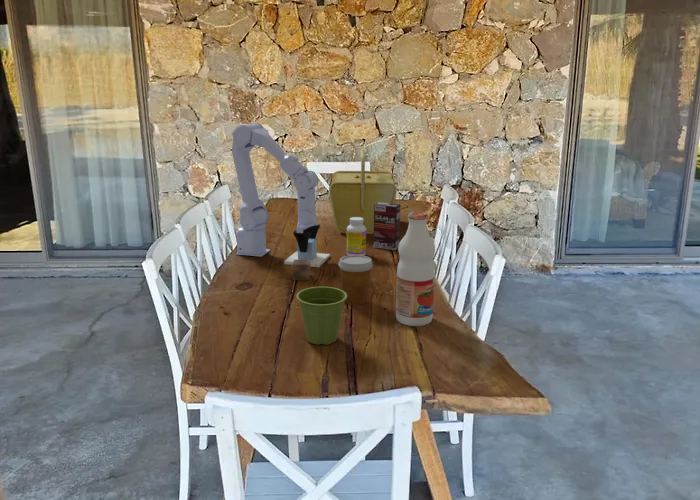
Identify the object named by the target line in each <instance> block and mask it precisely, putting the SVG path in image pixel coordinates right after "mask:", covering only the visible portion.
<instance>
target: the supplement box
mask: <svg viewBox="0 0 700 500" xmlns="http://www.w3.org/2000/svg"><path fill="white" fill-rule="evenodd" d="M401 206H402V205H401V204H400V203H394V204H391V203H381V202H378V203H376V204H375V205H374V234H372V235H373V236H372V237H373V239H372V240H373V241H372V242H373V244H372V247H373V248H377V249H385V250H392V251H396V250H398V248H399V243H400V227H401Z"/></svg>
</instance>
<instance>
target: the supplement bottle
mask: <svg viewBox="0 0 700 500" xmlns="http://www.w3.org/2000/svg"><path fill="white" fill-rule="evenodd" d="M363 222H364V219H363V218H361V217H352V218H350V225H349V226H348V227H347V234H346V256H348V255H362V256H366V254H367V234H366V227H365V226H364V225H363Z"/></svg>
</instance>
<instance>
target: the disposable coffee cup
mask: <svg viewBox="0 0 700 500" xmlns="http://www.w3.org/2000/svg"><path fill="white" fill-rule="evenodd" d="M337 264H338V267H339V271H340V278H341V286H342V288H341V290H343V291H344V292H346V294H347V298H346V300H345V301H344V304H348V305H354V306H355V305H364V304H365V303H367V301H368V293H369V285H370V279H371V274H372V273H371V272H372V268H373V267H374V263H373V260H372V258H371V257H369V256H366V255H364V256H362V255H344V256H341V257H340V258H339V262H338V263H337Z"/></svg>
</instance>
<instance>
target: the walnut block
mask: <svg viewBox="0 0 700 500" xmlns="http://www.w3.org/2000/svg"><path fill="white" fill-rule="evenodd" d="M310 278H311V267H310V260H294V261H293V265H292V280H293V281H310Z"/></svg>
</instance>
